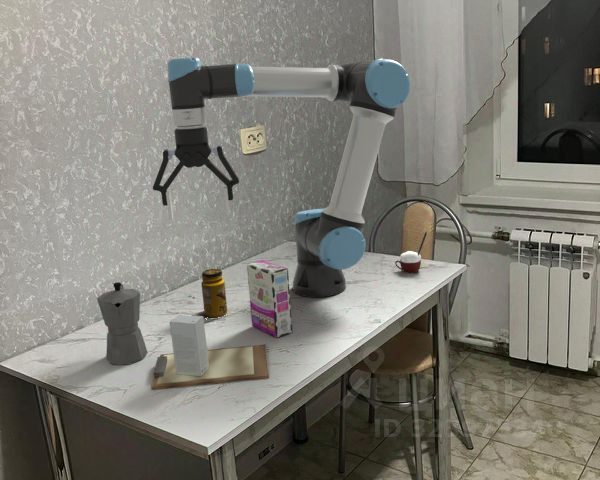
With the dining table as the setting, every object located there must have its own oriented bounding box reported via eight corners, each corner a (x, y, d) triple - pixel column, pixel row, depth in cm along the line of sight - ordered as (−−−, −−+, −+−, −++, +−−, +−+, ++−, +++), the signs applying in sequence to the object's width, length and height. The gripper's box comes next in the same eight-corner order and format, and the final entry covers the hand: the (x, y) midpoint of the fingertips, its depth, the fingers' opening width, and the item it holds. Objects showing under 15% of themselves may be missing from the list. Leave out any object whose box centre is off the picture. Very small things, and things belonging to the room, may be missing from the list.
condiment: (233, 314, 173) (229, 271, 170) (204, 323, 169) (199, 278, 166) (221, 307, 179) (216, 265, 176) (192, 315, 175) (187, 272, 172)
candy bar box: (293, 332, 159) (289, 268, 155) (277, 338, 156) (271, 273, 152) (267, 320, 168) (262, 259, 163) (251, 326, 165) (245, 263, 160)
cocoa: (394, 273, 199) (390, 235, 196) (402, 267, 204) (399, 230, 201) (423, 276, 194) (420, 237, 190) (431, 269, 198) (428, 231, 195)
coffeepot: (148, 365, 146) (138, 288, 142) (104, 372, 144) (92, 294, 140) (147, 339, 161) (138, 269, 156) (108, 345, 159) (97, 274, 154)
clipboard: (265, 346, 152) (265, 339, 151) (268, 377, 136) (268, 370, 136) (160, 356, 150) (159, 349, 150) (152, 389, 135) (150, 381, 134)
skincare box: (210, 368, 141) (204, 315, 138) (201, 377, 137) (195, 323, 134) (184, 365, 143) (178, 314, 140) (175, 374, 139) (168, 321, 136)
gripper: (133, 132, 148) (145, 223, 154) (244, 124, 150) (252, 215, 155) (138, 129, 155) (149, 217, 161) (243, 121, 157) (251, 208, 163)
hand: (199, 216), depth 158 cm, fingers open, 13 cm apart
